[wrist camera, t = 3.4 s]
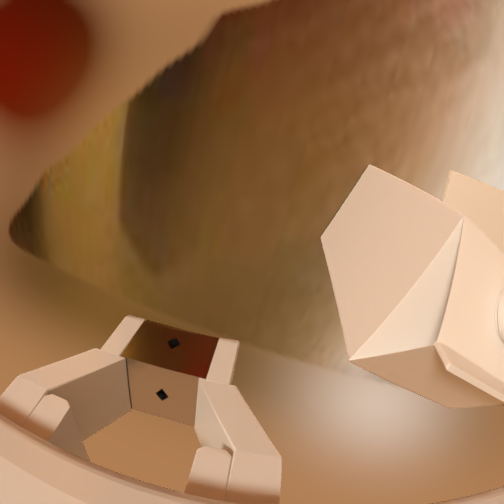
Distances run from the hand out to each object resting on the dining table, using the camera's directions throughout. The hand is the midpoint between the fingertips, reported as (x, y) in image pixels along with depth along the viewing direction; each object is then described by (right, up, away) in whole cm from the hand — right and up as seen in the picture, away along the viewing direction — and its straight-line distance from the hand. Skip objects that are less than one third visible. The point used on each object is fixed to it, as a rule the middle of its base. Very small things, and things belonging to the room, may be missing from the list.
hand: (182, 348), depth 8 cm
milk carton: (+12, +5, +17) cm, 21 cm away
